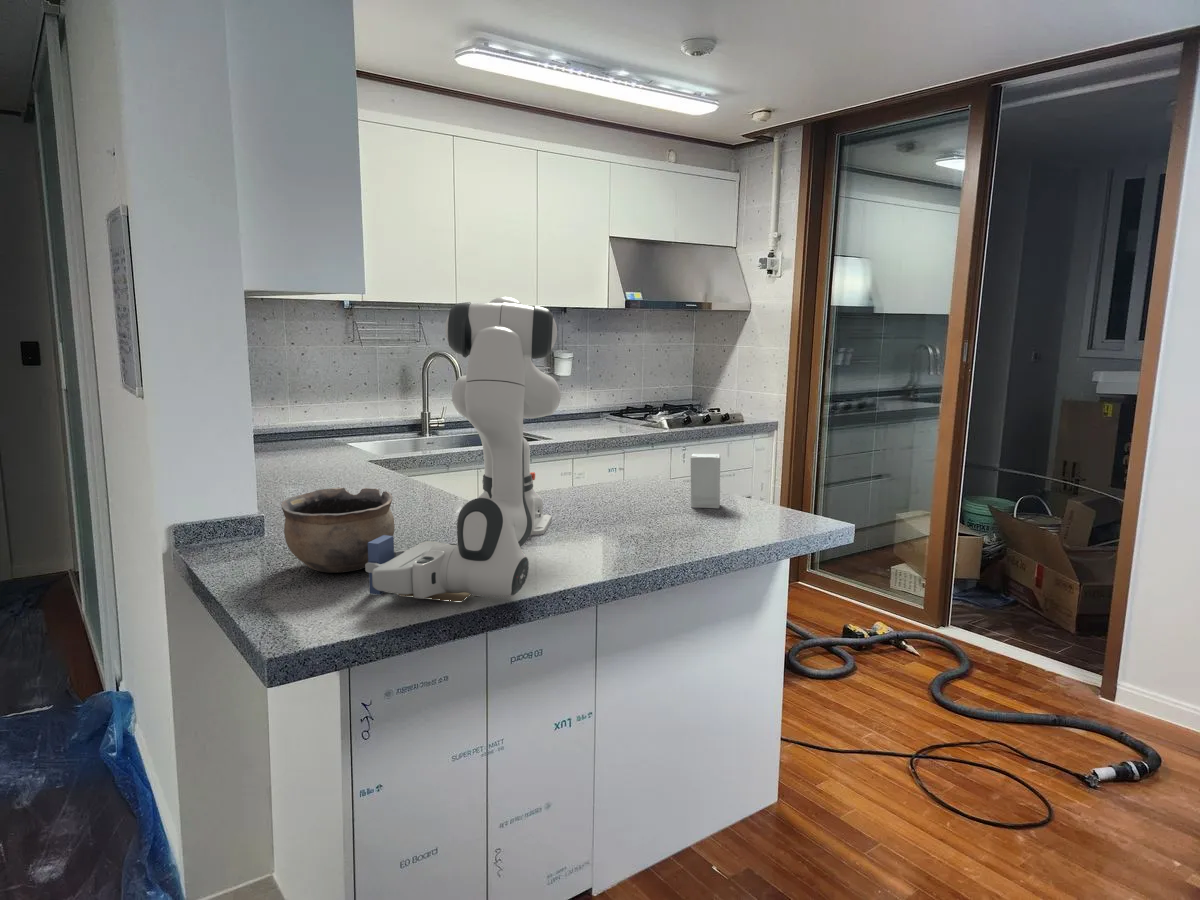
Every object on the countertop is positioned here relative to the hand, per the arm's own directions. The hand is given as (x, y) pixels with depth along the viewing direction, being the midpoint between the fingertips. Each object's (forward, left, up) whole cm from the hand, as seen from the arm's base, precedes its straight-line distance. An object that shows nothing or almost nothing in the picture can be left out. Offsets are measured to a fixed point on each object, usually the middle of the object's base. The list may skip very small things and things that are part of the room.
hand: (377, 560), depth 147 cm
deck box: (0, +1, -6) cm, 6 cm away
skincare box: (-87, +51, -6) cm, 101 cm away
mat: (-6, +12, -6) cm, 14 cm away
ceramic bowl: (-9, -14, -6) cm, 18 cm away
